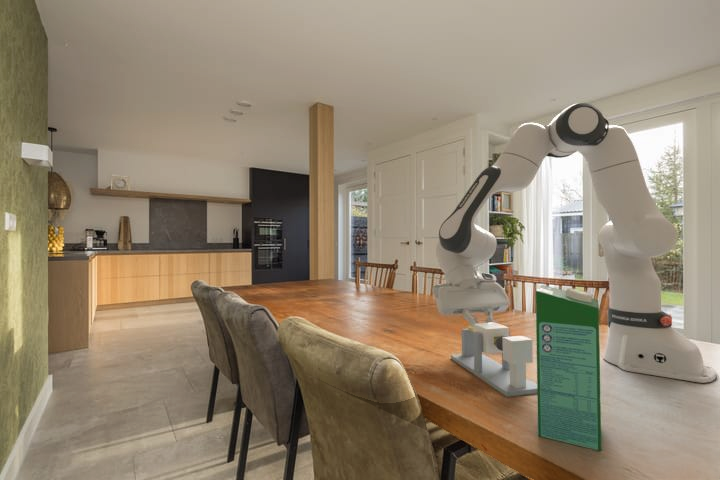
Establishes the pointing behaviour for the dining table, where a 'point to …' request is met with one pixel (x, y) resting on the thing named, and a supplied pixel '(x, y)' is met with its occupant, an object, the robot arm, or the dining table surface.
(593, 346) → the milk carton
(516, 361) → the bearing mount fixture
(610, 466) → the dining table surface
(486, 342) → the sleeve
